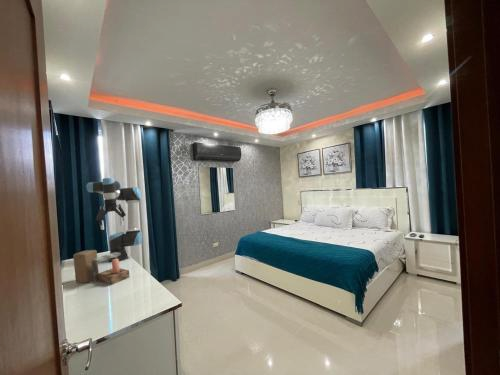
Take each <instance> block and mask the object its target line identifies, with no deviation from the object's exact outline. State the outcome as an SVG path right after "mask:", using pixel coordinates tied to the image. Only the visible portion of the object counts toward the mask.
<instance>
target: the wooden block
mask: <svg viewBox="0 0 500 375" xmlns="http://www.w3.org/2000/svg"><path fill="white" fill-rule="evenodd" d="M97 251H98V250H96V249H90V250H89V249H88V250H87V249H86V250H82V251H80V252H77V253H74V254H73V265H74V266H73V268H74V278H75V279H74V280H75V282H76V283H81V284H82V283H84V284H85V283H89V282H91V281H93V270H92V259H94V258H98V252H97ZM98 263H99V262H98ZM98 263H97V273H100V272H99V264H98Z"/></svg>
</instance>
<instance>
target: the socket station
mask: <svg viewBox="0 0 500 375" xmlns="http://www.w3.org/2000/svg"><path fill="white" fill-rule="evenodd" d="M119 255H121V253H117V252H114V253H111V254H110V253H107V254H105V255H101V256H97V258H94V259H92V270H93V280H92V281H93V282H94V283H96V282H98V281H99V282H102V283H104V284H108V285H114V284H116V283H120V282H122V281H124V280H127V279H129V278H130V270H129V269H125V268H120V267H119V270H120V273H118V274H115V275H113V269H112V268H109V269H106V270H104V271H101V272H99V273H97V263H100V262H104V261H107V260H108V259H110V258H113V259H117V256H119Z"/></svg>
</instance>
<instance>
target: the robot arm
mask: <svg viewBox="0 0 500 375" xmlns="http://www.w3.org/2000/svg"><path fill="white" fill-rule="evenodd" d="M86 190H87V192H88V193H99V194H101V195H103V206H102V205H101V206H99V210H98V213H97V215H96V217H95V221H98V225H99V226H100V230H101V231H102V230H105V226H104V225H105V224H104V220H103V219H104V218H105V217H106V215H107V214H108V213H109V212H115V214H117V216H119V218H118V219H119V226H120V227H123V226H124V220H125V219H124V217H125V216H127V229H126V230H125V233H124V231H123V232H122V231H121V232H116V233H114V234H111V235H109V236H108V243H109V254H111V253H114V252H117V253H121V255H119V256H117V259H119V262H120V261H123V260H126V259H128V258H129V256H128V253H127V250H126V248H127V247H132V246H133V247H136V246H139V245H141V243H142V241H143V238H144V237H143V232H142V231H141V229H140V228H139V206H138V205H139V203H140V200H142V197H143V196H142V192H141V189H140V188H139V187H124V188H123V186H122V183H121V182H120V181H118V180H115V177H103V178H102V180H101V181H91V182H88V183H87V184H86ZM117 201H123V202H124V201H125V203H126V205H127V214H126V213H125V211H124V210H123V207H122V205H121V204H120V203H119V204H117ZM107 260H108V262H110V263H112V260H113V258H110V259H107Z"/></svg>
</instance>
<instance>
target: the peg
mask: <svg viewBox="0 0 500 375" xmlns="http://www.w3.org/2000/svg"><path fill="white" fill-rule="evenodd" d="M111 266H112V267H111V269H113V275H115V274H118V273H120V270H119V268H120V261H119V259H113V260H112V262H111Z"/></svg>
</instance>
